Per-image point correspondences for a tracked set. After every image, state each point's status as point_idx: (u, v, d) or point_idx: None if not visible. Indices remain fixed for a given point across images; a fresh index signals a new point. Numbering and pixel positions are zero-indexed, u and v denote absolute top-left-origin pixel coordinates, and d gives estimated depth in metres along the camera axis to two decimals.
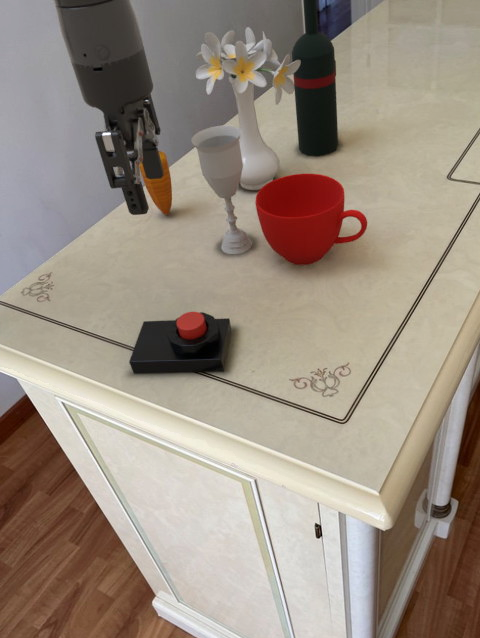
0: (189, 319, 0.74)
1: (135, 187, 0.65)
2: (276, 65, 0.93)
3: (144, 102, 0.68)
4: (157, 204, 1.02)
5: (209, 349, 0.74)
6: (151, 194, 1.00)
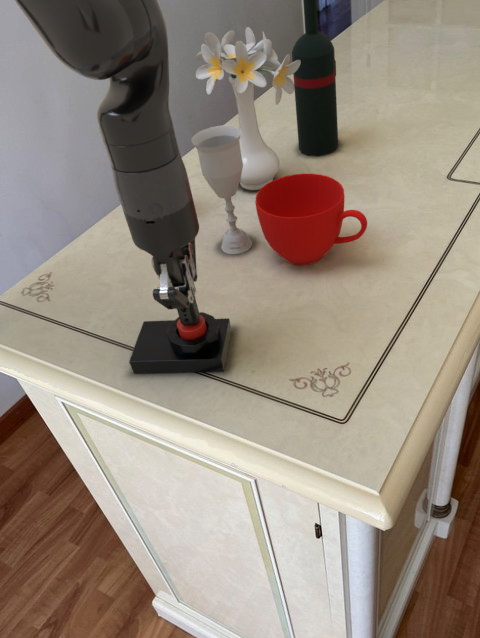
0: None
1: None
2: (276, 65, 0.93)
3: None
4: None
5: (209, 349, 0.74)
6: None
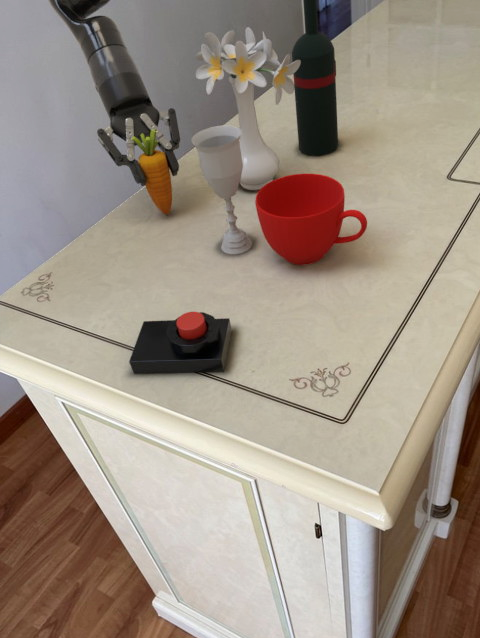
0: (189, 319, 0.74)
1: None
2: (276, 65, 0.93)
3: None
4: (157, 204, 1.02)
5: (209, 349, 0.74)
6: (151, 194, 1.00)
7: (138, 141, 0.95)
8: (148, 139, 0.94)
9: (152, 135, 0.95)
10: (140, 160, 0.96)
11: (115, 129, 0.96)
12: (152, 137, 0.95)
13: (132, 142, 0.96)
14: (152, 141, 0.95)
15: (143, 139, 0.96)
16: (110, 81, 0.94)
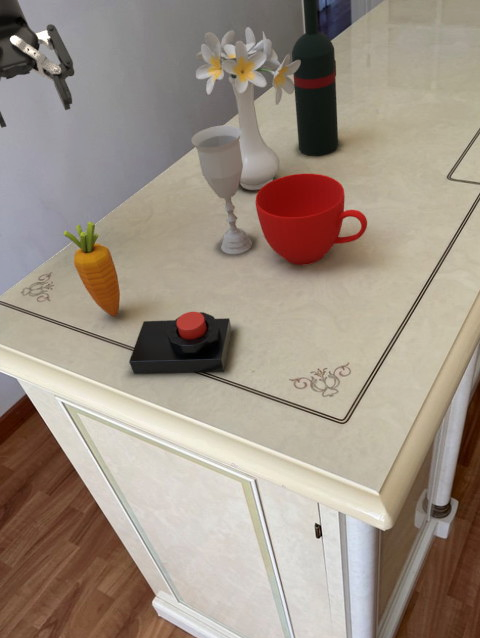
0: (189, 319, 0.74)
1: None
2: (276, 65, 0.93)
3: None
4: (101, 306, 0.83)
5: (209, 349, 0.74)
6: (92, 295, 0.81)
7: (72, 236, 0.76)
8: (84, 235, 0.75)
9: (89, 229, 0.75)
10: (76, 258, 0.77)
11: None
12: (89, 232, 0.75)
13: None
14: (89, 236, 0.76)
15: (79, 232, 0.77)
16: None
